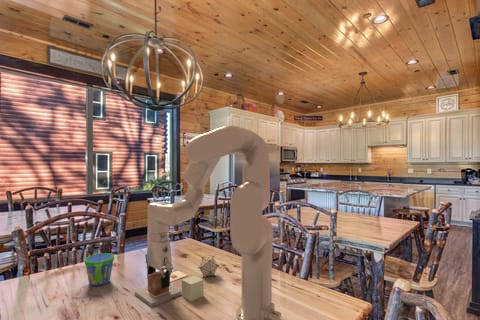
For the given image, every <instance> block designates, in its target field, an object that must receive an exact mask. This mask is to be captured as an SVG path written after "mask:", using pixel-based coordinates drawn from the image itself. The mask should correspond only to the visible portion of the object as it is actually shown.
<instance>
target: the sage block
mask: <svg viewBox="0 0 480 320" xmlns="http://www.w3.org/2000/svg"><path fill="white" fill-rule="evenodd" d="M181 291H182V294H181V297H183V298H184V299H186V300H188V301H189V302H194V301H196V300H198V299H201V298H202V297H204V292H205V291H204V278H201V277H199V276H196V275H191V276H187V277H185V278H184V279H183V278H182V280H181Z"/></svg>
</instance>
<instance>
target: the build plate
mask: <svg viewBox="0 0 480 320" xmlns="http://www.w3.org/2000/svg"><path fill="white" fill-rule="evenodd" d="M134 295H135V296H136V297H137V298H138V299H140V300H142V302H144V303H146V304H147V305H148V306H149V307H151V308H152V307H155V306H158V305H160V304H163V303H164V302H167V301H169V300H171V299H174V298H176V297H179V296H180V295H181V296H182V289H179V288H178V287H176V286H175V285H172V284H170V286H169V291H168V292H165V293H163V294H160V295H158V296H154V295H153V294H151V293H150V292H148V286H147V287H144V288H141V289H139V290H135V291H134Z"/></svg>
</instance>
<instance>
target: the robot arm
mask: <svg viewBox="0 0 480 320" xmlns="http://www.w3.org/2000/svg"><path fill="white" fill-rule="evenodd" d="M229 155H241V156H243V164H242V184H240V185H239V186H237V187H236V188H235V189H234V190H233V192H232V193H231V197H230V201H229V202H230V203H229V207H230V208H229V212H230V213H229V219H230V221H229V222H230V223H229V224H230V225H229V227H230V228H229V229H230V230H229V231H230V235H229V236H230V241H231V244H232V246H233V248H234V250H235V251H236V252H237V253H238V254H240V255H241V297H240V299H241V301H240V302H241V304H240V306H238V308H237V309H236V319H237V320H281V316H282V312H279V310H278V311H277V310H276V309H275V303H274V302H272V301H273V299H272V296H273V295H272V293H273V291H272V290H273V289H272V287H273V286H272V284H273V283H272V282H273V281H272V276H273V272H272V271H273V270H272V268H273V266H272V265H273V264H272V263H273V245H274V227H273V224H272V222H271V221H270V219H268V217H266V216H264V215H263V211H264V210H265V209H266V208H267V207H268V206H269V205H270V202H271V186H270V185H271V183H270V181H271V179H270V153H269V148H268V145H267V143H266V141H265V139H264V138H262V136H260V135H259V134H258V133H256V132H254V131H252V130H250V129H246V128H243V127H240V126H237V125H225V126H221V127H219V128H215V129H213V130H211V131H209V132H205V133H203V134H199V135H197V136H195V137H193V138H192V139H190V140H189V141H188V143H187V144H186V146H185V157H186V158H187V160H188V161H189V162H188V164H187V166H186V169H185V170H184V171H183V174H182V179H183V180H184V181H185V183H187V190H186V193H185V194H184V196H183V198H182V199H181V200H180V201H177V202H173V203H168V202H166V201H152V202H149V203H148V205H147V248H146V254H144V255H145V264H146V272H147V273H146V277H147V278H146V279H147V281H148V275H149V274H152V273H155V272H157V271H161V274H162V277H161V288H162V289H163V288H166V287H168V286H170V285H171V282H170V275H171V273H173V268H174V265H173V263H172V247H171V243H170V242H171V241H170V227H172V226H177V225H179V224H182V223H184V222H186V221H189V220H192V218H193V217H194V216H195V215H196V213H197V212H198V210H199V208H200V207H201V206H202V203H203V200H204V198H205V197H204V196H205V191H206V190H205V188H206V185H207V183H208V181H209V179H210V177H211V175H212V173H213V172H214V170H215V168H216V167H217V165H218V163H219V162H220V159H221V158H222V157H225V156H229ZM156 270H157V271H156ZM164 272H165V273H164Z"/></svg>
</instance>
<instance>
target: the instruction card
mask: <svg viewBox="0 0 480 320" xmlns="http://www.w3.org/2000/svg"><path fill="white" fill-rule="evenodd" d="M187 277H189V275H188V274H186V273H184V272H183V271H180V270H176V271H172V273H171V275H170V283H172V282H175V281H177V280H180V279H183V278H187Z"/></svg>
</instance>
